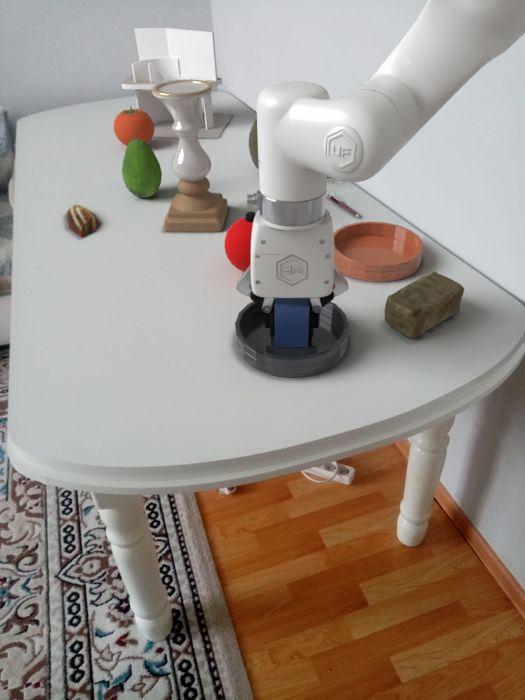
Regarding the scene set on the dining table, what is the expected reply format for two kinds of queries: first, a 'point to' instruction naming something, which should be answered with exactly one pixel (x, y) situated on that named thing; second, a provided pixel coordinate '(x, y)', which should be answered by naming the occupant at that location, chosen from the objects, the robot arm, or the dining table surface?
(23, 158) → the dining table surface
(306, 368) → the charcoal bowl
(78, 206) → the decorative stone
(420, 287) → the stone block
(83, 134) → the dining table surface
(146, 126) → the tomato
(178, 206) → the candle holder
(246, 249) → the ornament
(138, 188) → the fruit
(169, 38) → the architectural model
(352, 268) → the terracotta bowl
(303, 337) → the blue block
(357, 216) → the pen
